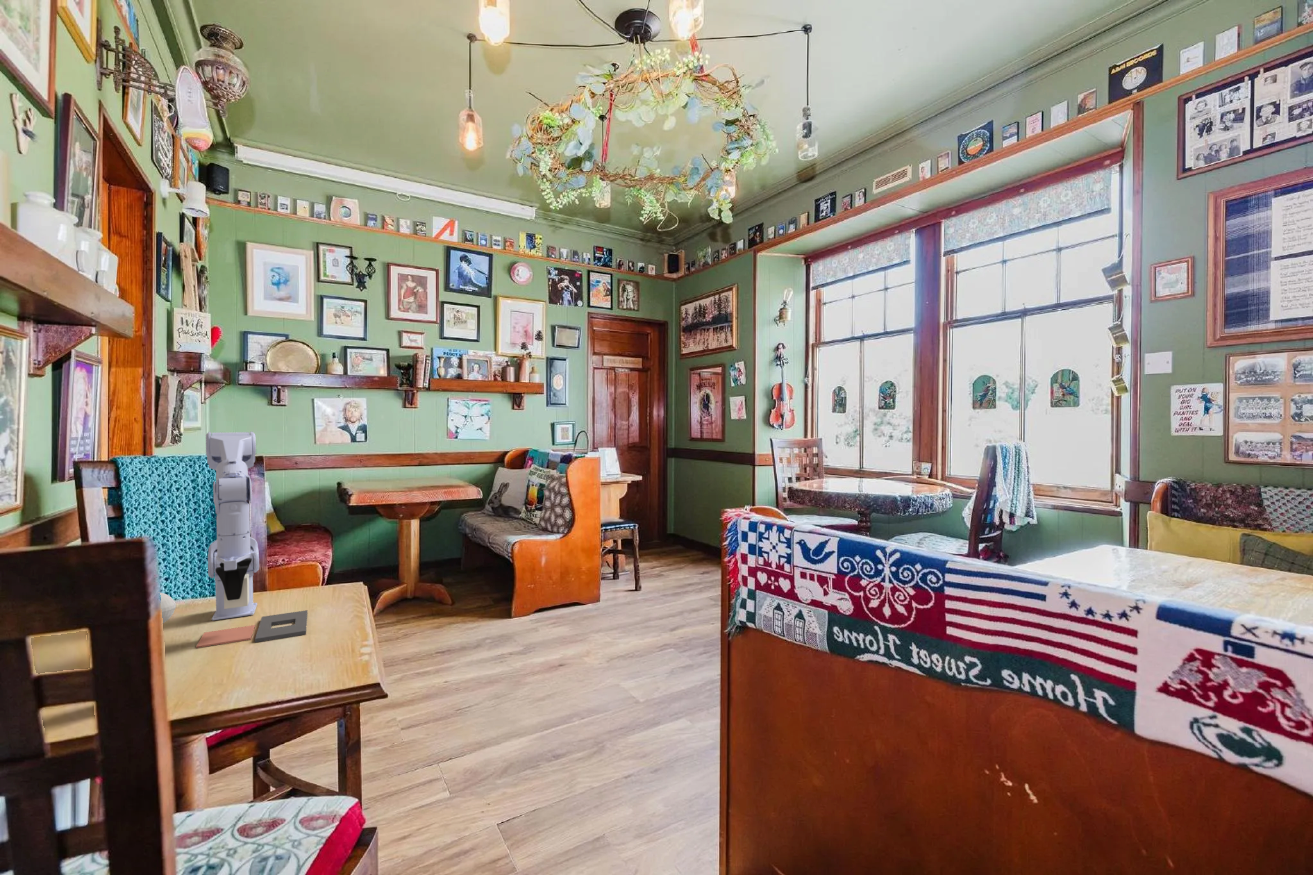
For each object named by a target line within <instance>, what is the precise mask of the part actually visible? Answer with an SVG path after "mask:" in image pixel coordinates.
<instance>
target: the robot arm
mask: <svg viewBox="0 0 1313 875" xmlns="http://www.w3.org/2000/svg"><path fill="white" fill-rule="evenodd" d="M256 438H257V437H256V433H255V432H254V431H249V432H248V431H236V432H234V431H233V432H231V431H230V432H225V431H224V432H223V431H222V432H221V431H220V432H212V431H208V432H207V433H206V434H205V453H206V454H205V455H206V459H207V460H206V461H207V465H208V468H209V469H212V470H214V471H216V472H215V481H214V480H213V487H212V488H213V491H212V492H213V503H214V506H215V514H216V540H214V541H213V542H211V543H210V544H209V547H208V554H207V574H208V575H207V576H208V577H209V578H211V579H214V581H215V582H214V583H215V612H214V614H213V615H212V618H211V620H212V621H219V620H225V619H231V618H240V617H246V616H253V615H254V614H255V612H256V609H257V607H258V602H254V582H253V580H254V577H253V576H254V573H258V571H259V570H260V553H259V552H260V551H259V545H258V543H259V542H258V541H257V539H255V538H253V537H252V536H251V522H250V521H251V519H250V517H251V516H250V515H251V514H250V511H251V510H250V509H251V508H250V504H251V503H252V499H253V498H252V497H253V491H252V485H253V484H252V480H251V476H250V475H249V469H250V468H253V467H254V466H255V464H254V463H255V462H256V454H257V453H256V452H257V442H256V441H257V439H256ZM245 574H249V603H248V606H243V607H235V608H228V609H224V590H225V594H226V597H227V600H236V599H240V596H241V592H242V586H243V580H244V577H245Z"/></svg>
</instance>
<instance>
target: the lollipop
mask: <svg viewBox="0 0 1313 875" xmlns="http://www.w3.org/2000/svg"><path fill="white" fill-rule="evenodd" d="M159 593H160V595H161V609H162V618H163V623H162V624H164V623H166V622H167V621H169V620H170V619H171V617H172V616H173V615H174V612H175V610H176V609H177V603H176V602H175V600H174V599H173V598H172V597H171V596H170V595H169V594H166V593H163V592H159Z"/></svg>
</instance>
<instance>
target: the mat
mask: <svg viewBox="0 0 1313 875" xmlns="http://www.w3.org/2000/svg"><path fill="white" fill-rule="evenodd" d="M255 628H256V625H255V624H253V625H252V624H251V625H246V626H238V627H233V628H232V627H231V628H226V629H219V630H218V629H217V630H212V631H206V632H203V634H202V636H201V638H200V639H199V641H198V643H197V644H196V647H195V648H196V649H199V647H201V648H206V647H212V646H211V645H214V646H219V644H220V645H225V644H231V643H238V642H244V641H251V639H252V637H253V633H254V631H255Z"/></svg>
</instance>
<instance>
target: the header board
mask: <svg viewBox="0 0 1313 875" xmlns="http://www.w3.org/2000/svg"><path fill="white" fill-rule="evenodd" d="M292 622H293V623H294V624H293V623H292ZM307 623H308V610H307V609H306V610H299V611H293V612H292V611H291V612H285V613H279V614H272V615H265V616H261V618H260V622H259V625H258V629H257V631H256V635H255V638H254V643H261V642H267V641H266V640H268V641H273V640H280V639H287V638H291V637H298V636H305V635H307V627H306V626H308V624H307ZM279 624H280V625H282V626H280V625H279ZM287 624H291V625H287ZM273 625H274V626H278V627H272V626H273ZM283 625H285V626H283Z"/></svg>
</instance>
